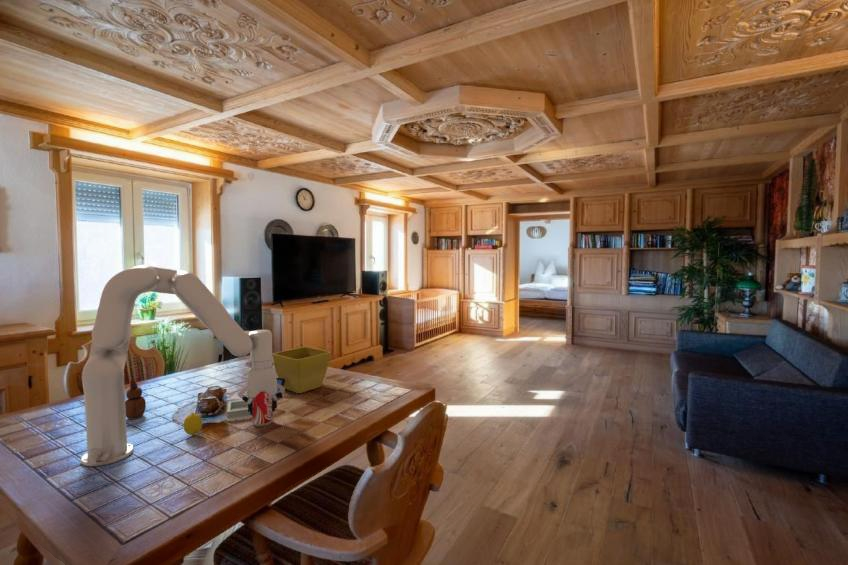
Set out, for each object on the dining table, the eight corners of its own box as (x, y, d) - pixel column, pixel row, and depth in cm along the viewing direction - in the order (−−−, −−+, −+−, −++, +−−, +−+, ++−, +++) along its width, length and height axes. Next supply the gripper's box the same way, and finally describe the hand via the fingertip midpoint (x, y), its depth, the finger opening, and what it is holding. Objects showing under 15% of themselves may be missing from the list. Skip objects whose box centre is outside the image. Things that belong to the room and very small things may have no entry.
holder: (259, 417, 152) (259, 408, 152) (227, 422, 148) (226, 412, 148) (258, 405, 164) (258, 397, 164) (228, 409, 160) (228, 400, 160)
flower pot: (305, 379, 200) (305, 345, 199) (331, 386, 189) (331, 351, 187) (271, 389, 184) (271, 353, 183) (297, 398, 173) (297, 359, 172)
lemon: (199, 430, 141) (199, 408, 140) (204, 435, 137) (204, 412, 136) (181, 435, 137) (181, 412, 136) (186, 441, 133) (185, 417, 132)
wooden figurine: (133, 421, 148) (131, 381, 147) (120, 420, 149) (118, 380, 148) (149, 414, 154) (148, 376, 153) (137, 413, 156) (135, 375, 155)
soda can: (248, 423, 147) (247, 388, 146) (267, 417, 152) (266, 383, 151) (257, 429, 142) (256, 393, 141) (276, 422, 147) (276, 388, 147)
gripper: (234, 369, 139) (236, 419, 140) (287, 364, 146) (288, 412, 147) (235, 364, 146) (236, 411, 147) (285, 359, 153) (286, 405, 154)
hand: (262, 411), depth 147 cm, fingers closed on soda can, 7 cm apart
